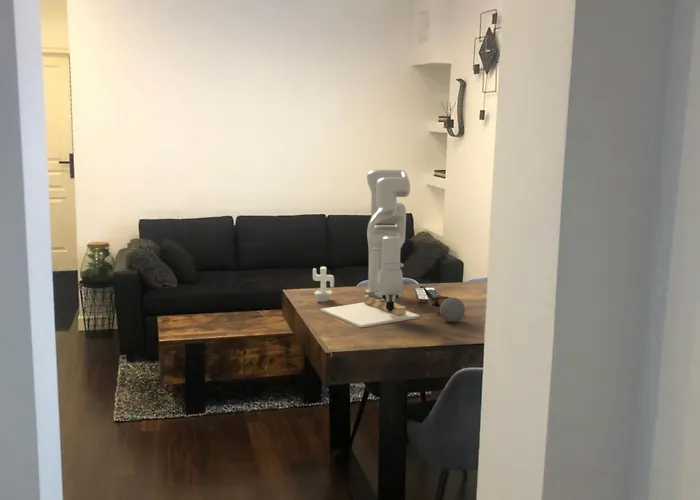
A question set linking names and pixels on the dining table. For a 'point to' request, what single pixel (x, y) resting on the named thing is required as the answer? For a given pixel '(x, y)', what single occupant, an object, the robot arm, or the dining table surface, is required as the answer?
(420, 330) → the dining table surface
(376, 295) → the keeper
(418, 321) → the dining table surface
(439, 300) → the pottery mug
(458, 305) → the decorative ball
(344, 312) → the pivot board
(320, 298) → the figurine
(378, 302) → the oak link
